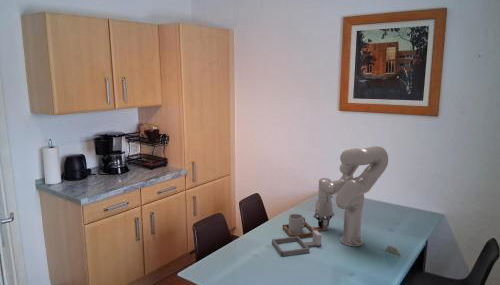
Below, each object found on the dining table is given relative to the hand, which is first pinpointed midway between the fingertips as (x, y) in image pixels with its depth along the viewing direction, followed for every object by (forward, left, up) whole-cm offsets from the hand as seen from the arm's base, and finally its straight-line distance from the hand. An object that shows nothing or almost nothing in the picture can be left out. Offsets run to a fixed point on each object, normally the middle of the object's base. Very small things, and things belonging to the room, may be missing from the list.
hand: (323, 226), depth 231 cm
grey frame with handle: (-18, +24, -2) cm, 30 cm away
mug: (0, +17, -2) cm, 17 cm away
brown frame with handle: (0, +12, -2) cm, 12 cm away
